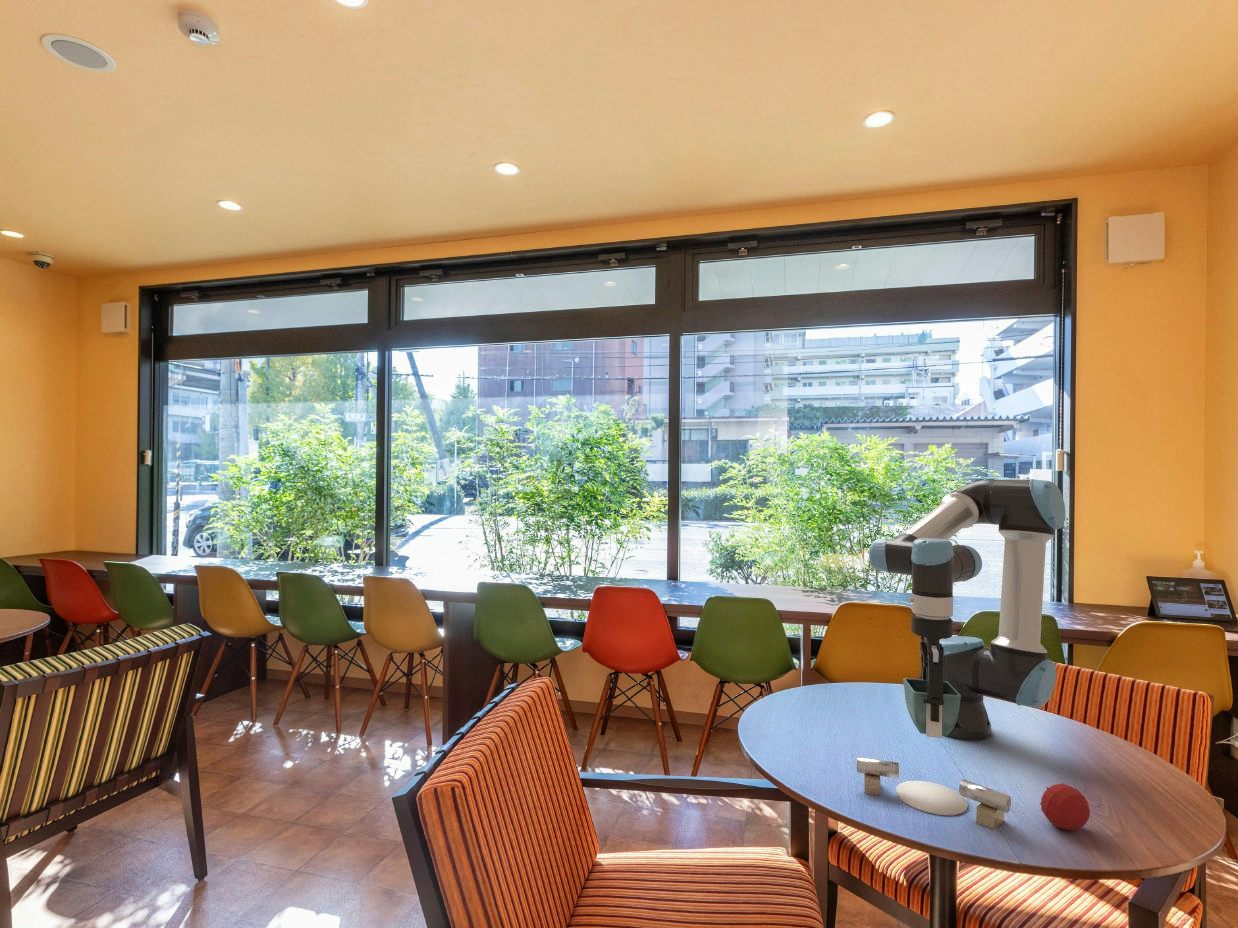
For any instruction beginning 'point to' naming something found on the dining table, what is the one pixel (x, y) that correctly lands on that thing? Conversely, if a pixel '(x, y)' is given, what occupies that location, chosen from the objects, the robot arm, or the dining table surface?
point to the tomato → (1065, 807)
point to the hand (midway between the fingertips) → (931, 727)
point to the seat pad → (931, 798)
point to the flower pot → (917, 707)
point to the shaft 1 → (876, 772)
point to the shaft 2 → (986, 803)
